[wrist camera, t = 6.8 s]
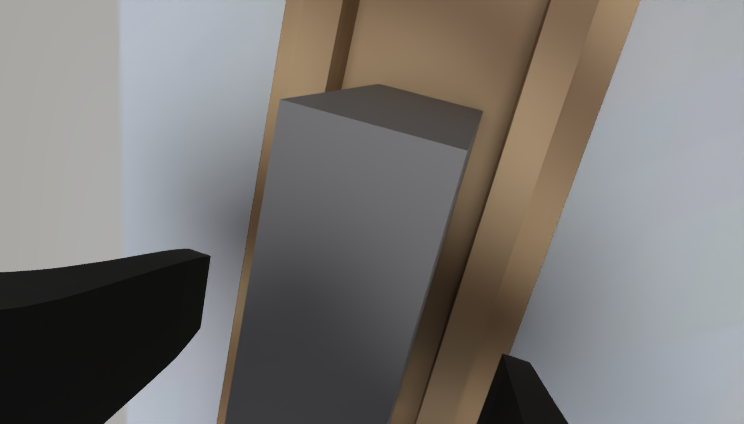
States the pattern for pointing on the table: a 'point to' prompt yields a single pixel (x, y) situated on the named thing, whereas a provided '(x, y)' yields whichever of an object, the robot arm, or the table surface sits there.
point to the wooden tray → (486, 162)
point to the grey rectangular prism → (346, 253)
